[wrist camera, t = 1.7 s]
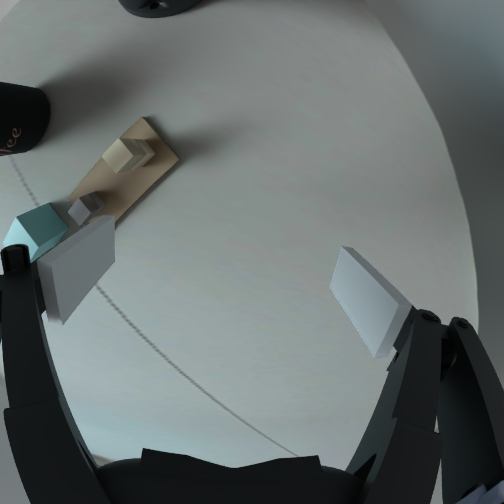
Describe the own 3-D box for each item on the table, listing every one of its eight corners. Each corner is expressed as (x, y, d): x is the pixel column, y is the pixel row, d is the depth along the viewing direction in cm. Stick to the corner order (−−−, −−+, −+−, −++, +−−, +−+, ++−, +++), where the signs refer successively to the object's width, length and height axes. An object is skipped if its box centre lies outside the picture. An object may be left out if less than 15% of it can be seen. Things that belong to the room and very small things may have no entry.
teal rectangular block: (33, 225, 35) (2, 243, 27) (48, 202, 34) (15, 217, 26) (52, 250, 37) (24, 271, 29) (68, 228, 36) (38, 247, 28)
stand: (71, 196, 34) (32, 213, 25) (144, 117, 32) (115, 108, 22) (104, 235, 37) (71, 262, 28) (180, 159, 34) (162, 163, 25)
